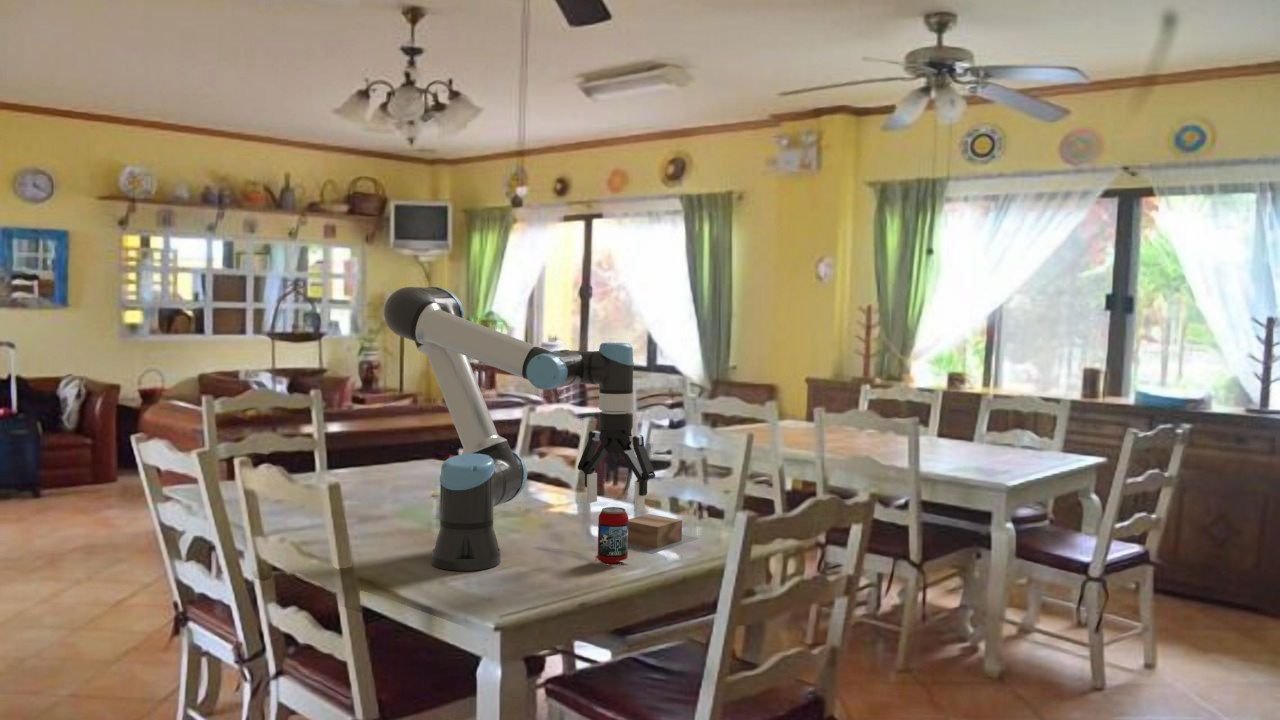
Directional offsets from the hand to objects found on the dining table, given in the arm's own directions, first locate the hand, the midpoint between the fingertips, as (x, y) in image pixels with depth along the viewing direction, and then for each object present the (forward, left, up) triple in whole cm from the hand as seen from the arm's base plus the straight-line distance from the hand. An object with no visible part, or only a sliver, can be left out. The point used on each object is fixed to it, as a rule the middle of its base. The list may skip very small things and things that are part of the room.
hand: (615, 506), depth 227 cm
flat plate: (+18, +2, -13) cm, 22 cm away
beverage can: (0, 0, -13) cm, 13 cm away
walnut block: (+18, +2, -12) cm, 21 cm away
